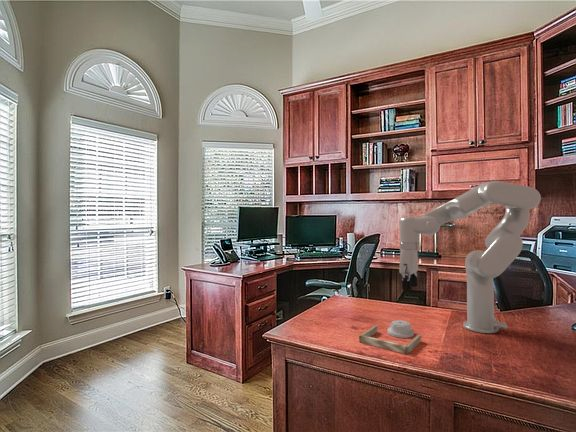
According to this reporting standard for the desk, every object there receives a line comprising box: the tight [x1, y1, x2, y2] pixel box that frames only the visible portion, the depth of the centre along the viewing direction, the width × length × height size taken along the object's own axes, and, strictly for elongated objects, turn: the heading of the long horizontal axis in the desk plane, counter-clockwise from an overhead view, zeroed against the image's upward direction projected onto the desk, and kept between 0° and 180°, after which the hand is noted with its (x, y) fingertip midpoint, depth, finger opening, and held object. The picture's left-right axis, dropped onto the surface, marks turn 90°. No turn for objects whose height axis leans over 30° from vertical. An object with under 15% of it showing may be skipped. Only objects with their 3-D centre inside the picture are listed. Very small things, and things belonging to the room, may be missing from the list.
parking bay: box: [358, 324, 422, 355], centre depth 126 cm, size 18×14×2 cm
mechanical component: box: [387, 319, 415, 339], centre depth 134 cm, size 10×4×10 cm
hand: (409, 288), depth 143 cm, fingers open, 7 cm apart
